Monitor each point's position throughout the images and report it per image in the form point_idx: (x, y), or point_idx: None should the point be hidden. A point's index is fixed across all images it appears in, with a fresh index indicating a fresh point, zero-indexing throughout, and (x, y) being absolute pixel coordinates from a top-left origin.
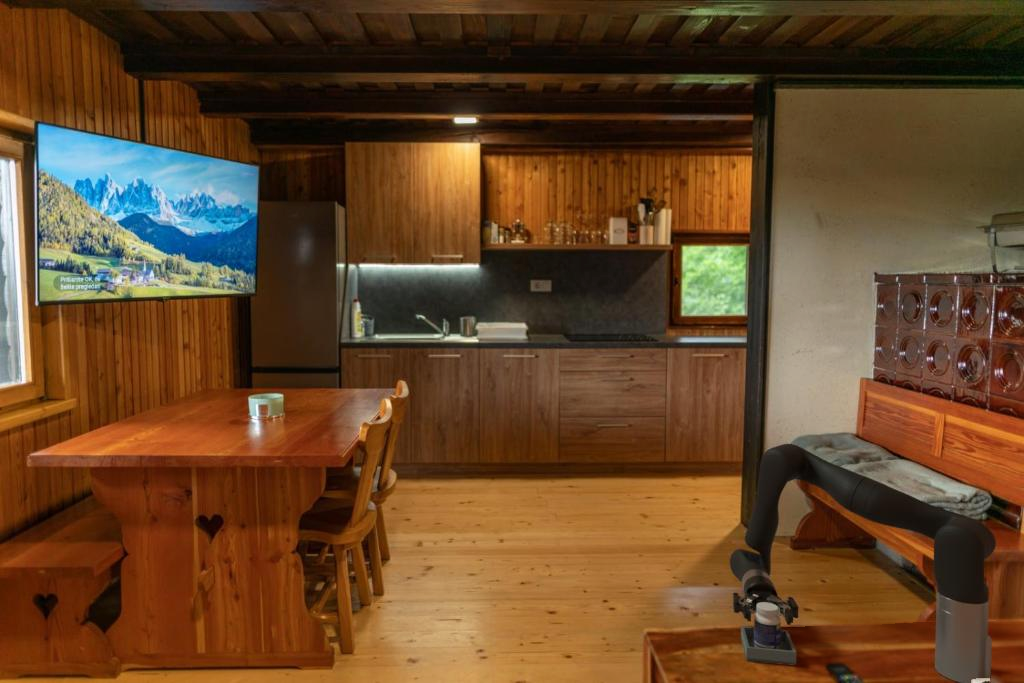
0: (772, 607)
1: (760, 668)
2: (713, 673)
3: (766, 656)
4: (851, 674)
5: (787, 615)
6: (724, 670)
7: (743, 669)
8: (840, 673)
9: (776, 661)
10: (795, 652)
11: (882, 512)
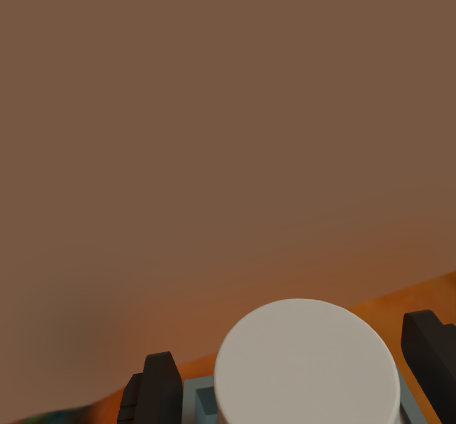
0: (258, 356)
1: None
2: (448, 278)
3: None
4: (24, 418)
5: (166, 354)
6: (427, 301)
7: (374, 325)
8: (59, 411)
9: None
10: (188, 379)
11: None
